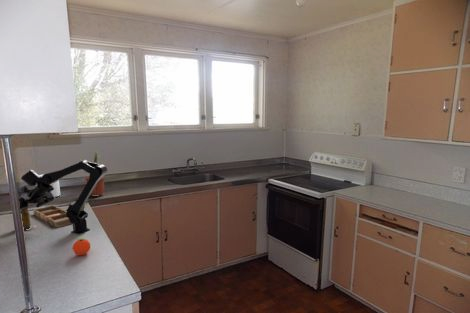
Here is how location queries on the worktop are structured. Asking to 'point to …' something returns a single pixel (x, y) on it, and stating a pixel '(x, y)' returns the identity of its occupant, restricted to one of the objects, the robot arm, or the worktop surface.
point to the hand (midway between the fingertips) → (28, 209)
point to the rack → (53, 215)
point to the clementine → (81, 246)
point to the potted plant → (100, 184)
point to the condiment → (26, 219)
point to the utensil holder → (55, 188)
